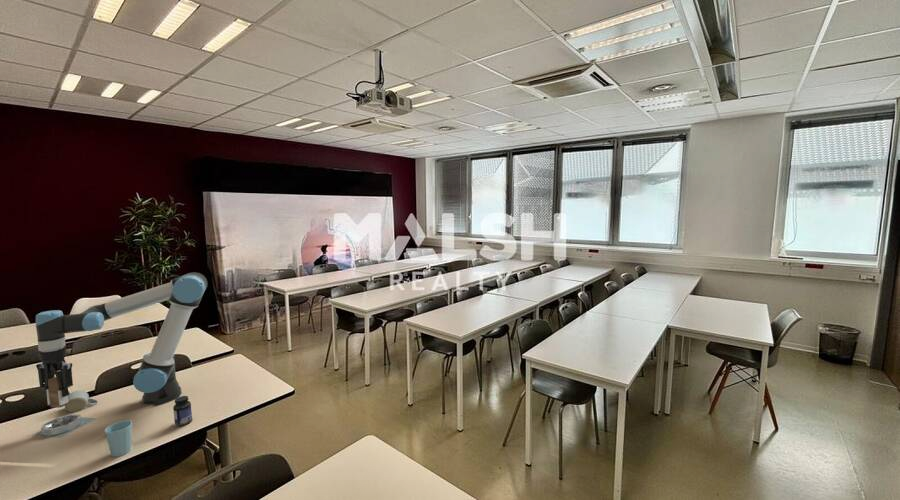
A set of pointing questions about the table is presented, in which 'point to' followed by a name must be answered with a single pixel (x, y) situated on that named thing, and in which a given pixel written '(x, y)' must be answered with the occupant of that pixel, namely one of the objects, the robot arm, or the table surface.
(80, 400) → the ceramic mug
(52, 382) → the brown wooden block
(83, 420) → the slate board
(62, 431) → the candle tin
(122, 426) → the cup
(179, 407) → the pill bottle
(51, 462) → the table surface
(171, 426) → the table surface
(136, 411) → the table surface
